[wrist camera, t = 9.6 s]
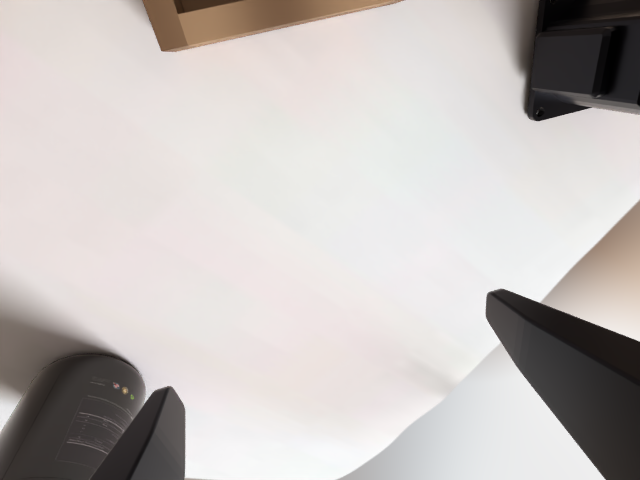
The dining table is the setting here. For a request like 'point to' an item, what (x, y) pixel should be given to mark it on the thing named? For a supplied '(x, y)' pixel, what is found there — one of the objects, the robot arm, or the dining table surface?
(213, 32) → the walnut cradle
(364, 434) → the dining table surface
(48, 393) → the supplement bottle
